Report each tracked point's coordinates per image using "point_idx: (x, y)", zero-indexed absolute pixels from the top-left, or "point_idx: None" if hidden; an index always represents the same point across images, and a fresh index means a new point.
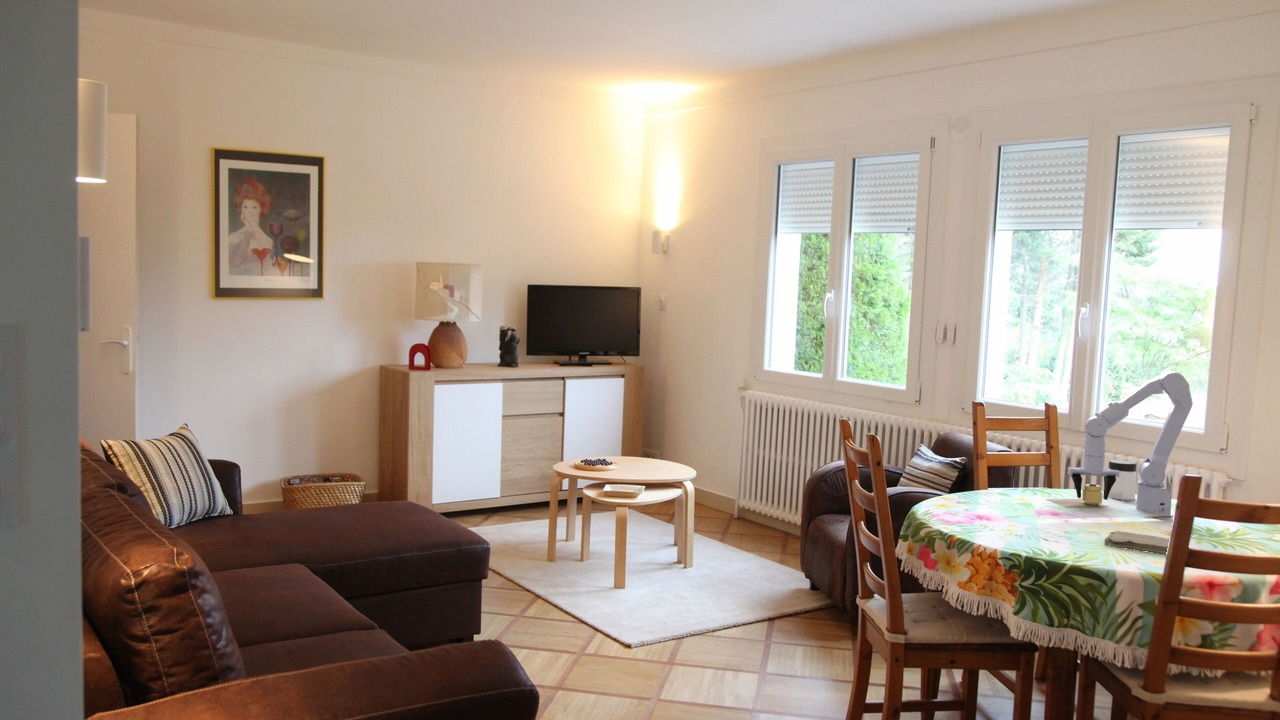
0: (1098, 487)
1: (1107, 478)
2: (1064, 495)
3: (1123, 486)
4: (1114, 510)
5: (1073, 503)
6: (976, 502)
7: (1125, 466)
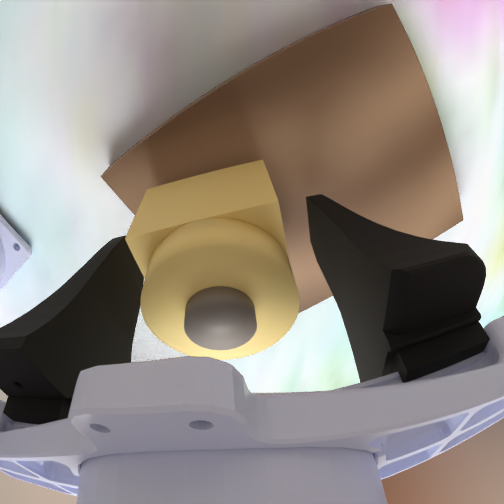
0: (156, 266)
1: (49, 369)
2: (322, 387)
3: None
4: (88, 204)
5: (341, 174)
6: None
7: None
